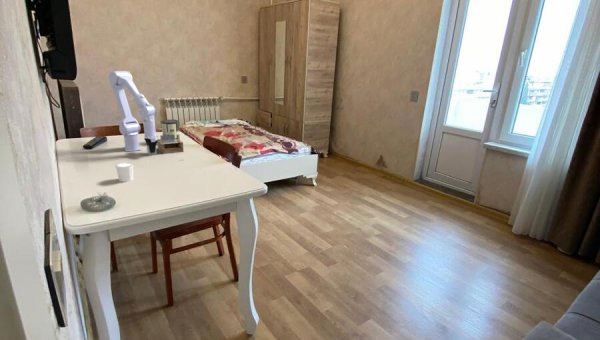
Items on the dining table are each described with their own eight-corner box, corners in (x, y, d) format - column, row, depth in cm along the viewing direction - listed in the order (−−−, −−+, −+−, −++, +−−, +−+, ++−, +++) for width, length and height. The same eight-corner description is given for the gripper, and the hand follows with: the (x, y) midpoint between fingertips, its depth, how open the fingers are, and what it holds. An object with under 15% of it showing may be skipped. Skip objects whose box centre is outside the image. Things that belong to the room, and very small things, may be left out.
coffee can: (173, 139, 216) (171, 118, 212) (183, 142, 211) (182, 121, 207) (159, 142, 208) (157, 120, 204) (169, 145, 203) (168, 123, 198)
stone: (147, 153, 184) (146, 145, 183) (155, 152, 187) (154, 145, 185) (148, 155, 181) (148, 147, 180) (156, 154, 183) (156, 146, 182)
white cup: (123, 183, 141) (121, 168, 139) (114, 179, 144) (112, 165, 142) (138, 179, 147) (136, 164, 144) (129, 175, 150) (127, 161, 148)
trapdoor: (159, 140, 194) (159, 135, 193) (174, 139, 199) (174, 134, 198) (163, 144, 187) (163, 139, 186) (178, 142, 191) (178, 137, 190)
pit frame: (157, 148, 195) (156, 138, 193) (177, 146, 201) (177, 137, 199) (162, 153, 185) (161, 143, 183) (183, 151, 191) (182, 141, 189)
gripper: (160, 129, 176) (162, 154, 180) (154, 124, 187) (156, 147, 191) (146, 130, 172) (148, 155, 176) (141, 125, 183) (143, 149, 187)
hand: (151, 151), depth 183 cm, fingers closed on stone, 4 cm apart
